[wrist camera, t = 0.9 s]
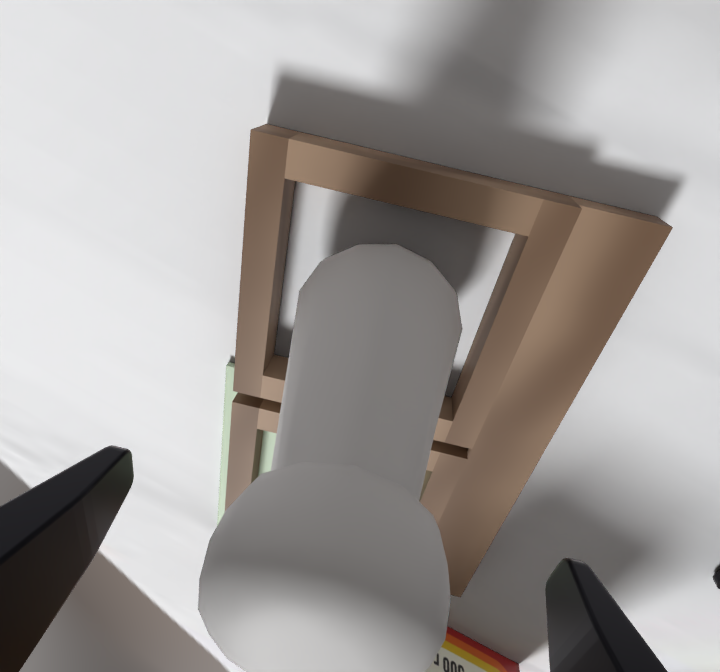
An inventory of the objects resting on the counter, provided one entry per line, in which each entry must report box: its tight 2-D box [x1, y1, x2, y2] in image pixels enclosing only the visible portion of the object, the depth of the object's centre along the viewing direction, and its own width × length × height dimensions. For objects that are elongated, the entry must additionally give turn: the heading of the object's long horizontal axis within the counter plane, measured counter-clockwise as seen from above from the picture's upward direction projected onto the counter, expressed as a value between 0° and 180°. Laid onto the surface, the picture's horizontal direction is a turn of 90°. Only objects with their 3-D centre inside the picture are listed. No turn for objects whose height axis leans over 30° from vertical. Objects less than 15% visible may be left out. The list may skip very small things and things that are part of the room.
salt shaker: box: [198, 244, 462, 672], centre depth 13 cm, size 6×6×13 cm
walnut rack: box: [225, 124, 673, 597], centre depth 20 cm, size 13×21×2 cm, turn 169°
